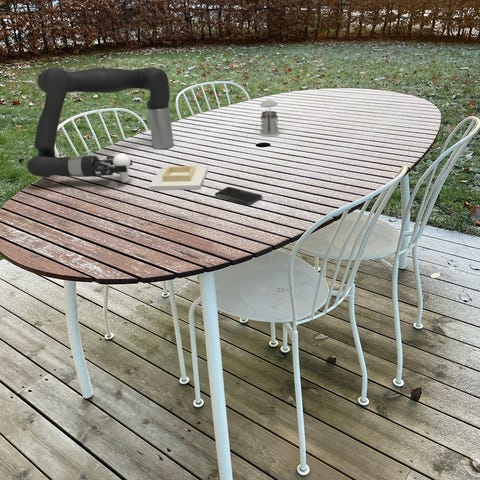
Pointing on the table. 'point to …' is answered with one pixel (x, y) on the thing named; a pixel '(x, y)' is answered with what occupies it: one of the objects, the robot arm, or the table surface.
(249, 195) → the phone
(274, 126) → the french press
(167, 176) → the lamp base
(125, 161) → the lightbulb
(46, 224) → the table surface
